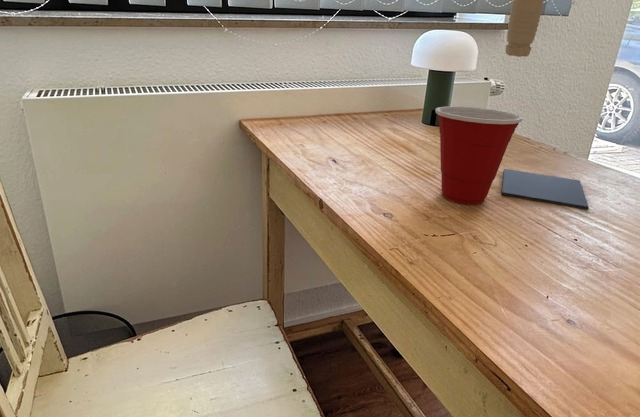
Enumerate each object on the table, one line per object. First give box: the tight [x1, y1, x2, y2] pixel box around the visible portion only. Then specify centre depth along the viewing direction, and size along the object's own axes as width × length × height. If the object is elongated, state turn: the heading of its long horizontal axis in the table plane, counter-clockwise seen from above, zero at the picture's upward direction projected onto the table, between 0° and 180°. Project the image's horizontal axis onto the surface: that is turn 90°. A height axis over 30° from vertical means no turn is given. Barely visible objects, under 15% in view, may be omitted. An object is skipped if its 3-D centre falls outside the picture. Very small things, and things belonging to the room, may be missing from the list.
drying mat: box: [501, 168, 589, 210], centre depth 72 cm, size 11×11×1 cm
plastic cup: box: [434, 106, 524, 206], centre depth 65 cm, size 11×11×12 cm
